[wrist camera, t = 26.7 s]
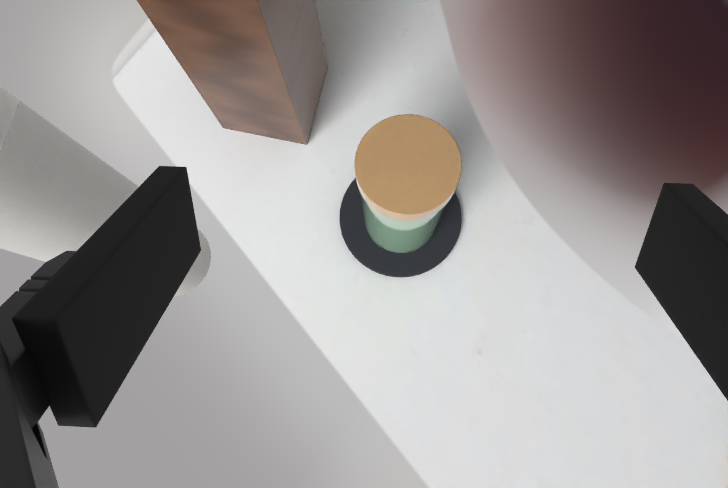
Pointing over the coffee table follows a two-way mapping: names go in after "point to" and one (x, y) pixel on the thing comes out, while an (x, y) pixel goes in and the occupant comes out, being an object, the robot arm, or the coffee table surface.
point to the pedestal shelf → (249, 60)
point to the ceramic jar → (406, 179)
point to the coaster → (392, 261)
